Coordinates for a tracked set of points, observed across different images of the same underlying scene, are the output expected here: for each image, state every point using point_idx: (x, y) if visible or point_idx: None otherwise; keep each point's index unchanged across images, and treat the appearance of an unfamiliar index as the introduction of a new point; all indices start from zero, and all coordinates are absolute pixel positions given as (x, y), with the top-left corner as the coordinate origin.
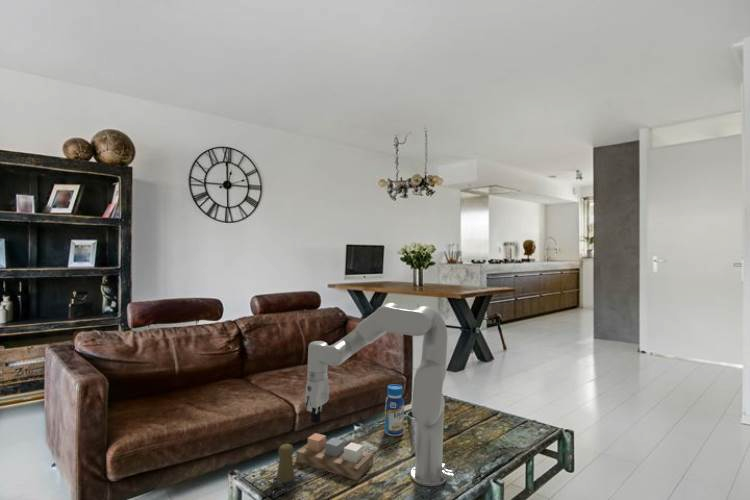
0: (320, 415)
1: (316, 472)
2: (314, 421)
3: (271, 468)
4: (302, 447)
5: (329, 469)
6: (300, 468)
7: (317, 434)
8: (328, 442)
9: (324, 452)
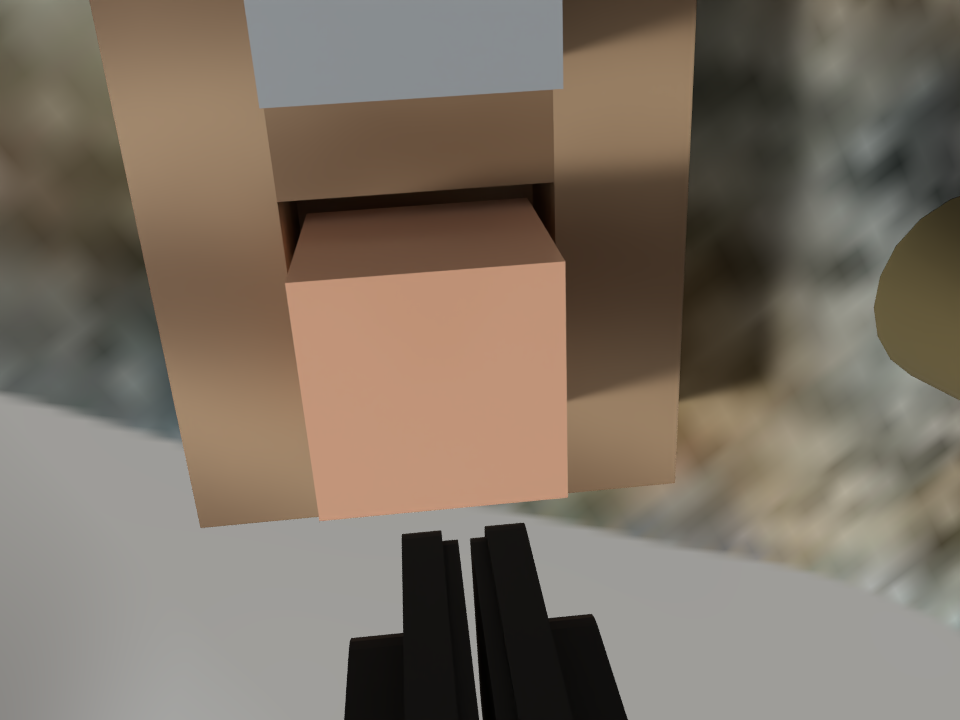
0: (405, 671)
1: (740, 21)
2: (594, 624)
3: (873, 526)
4: None
5: None
6: (743, 270)
7: (343, 453)
8: (505, 46)
9: (499, 104)
